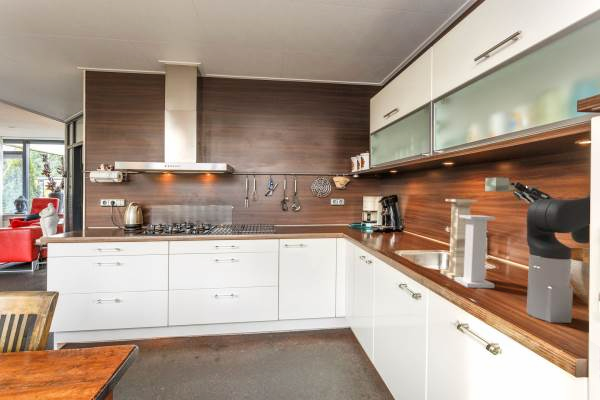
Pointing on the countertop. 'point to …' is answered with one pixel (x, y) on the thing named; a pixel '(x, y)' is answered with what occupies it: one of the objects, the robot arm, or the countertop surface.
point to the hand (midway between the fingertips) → (512, 184)
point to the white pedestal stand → (475, 252)
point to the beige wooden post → (457, 237)
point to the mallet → (501, 185)
